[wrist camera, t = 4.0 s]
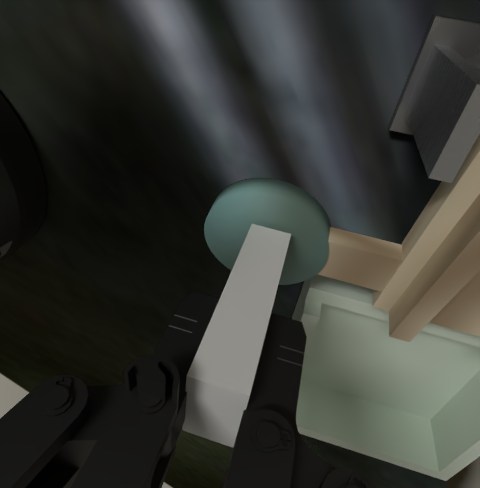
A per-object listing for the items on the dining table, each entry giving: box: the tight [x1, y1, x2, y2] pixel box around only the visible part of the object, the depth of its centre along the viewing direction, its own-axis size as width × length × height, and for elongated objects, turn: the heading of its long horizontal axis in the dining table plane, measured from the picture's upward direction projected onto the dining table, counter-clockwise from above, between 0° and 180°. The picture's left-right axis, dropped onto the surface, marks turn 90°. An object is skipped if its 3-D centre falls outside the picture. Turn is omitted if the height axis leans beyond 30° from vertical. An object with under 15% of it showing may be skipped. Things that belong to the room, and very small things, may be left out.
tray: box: [292, 274, 480, 481], centre depth 21 cm, size 12×12×4 cm
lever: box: [204, 134, 480, 342], centre depth 9 cm, size 14×16×3 cm
